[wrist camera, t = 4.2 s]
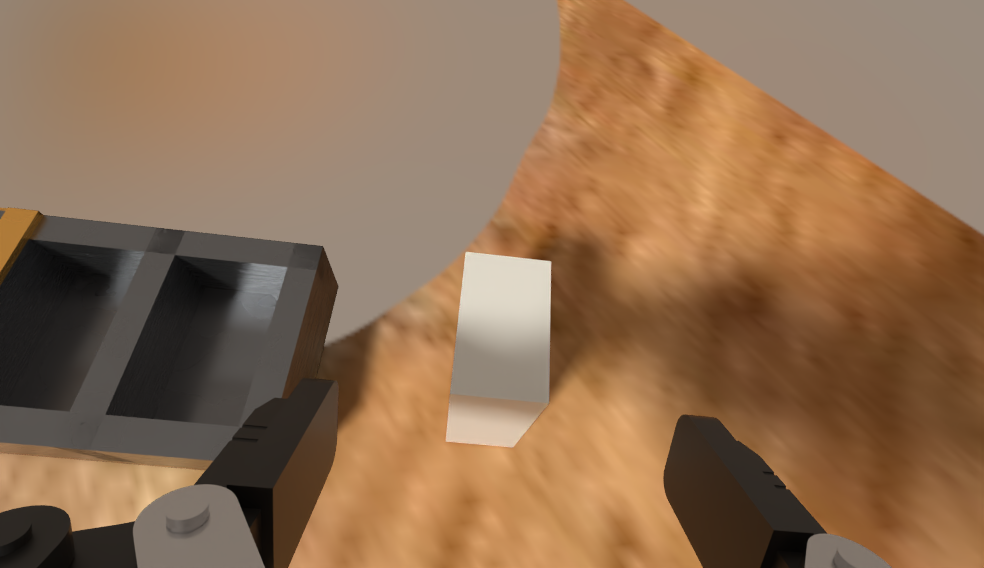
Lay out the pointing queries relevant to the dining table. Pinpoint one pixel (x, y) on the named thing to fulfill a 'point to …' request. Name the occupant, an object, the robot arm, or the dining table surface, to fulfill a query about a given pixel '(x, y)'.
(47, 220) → the slot rack
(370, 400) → the dining table surface
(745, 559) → the robot arm
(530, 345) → the white rectangular block
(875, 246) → the dining table surface
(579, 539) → the dining table surface
